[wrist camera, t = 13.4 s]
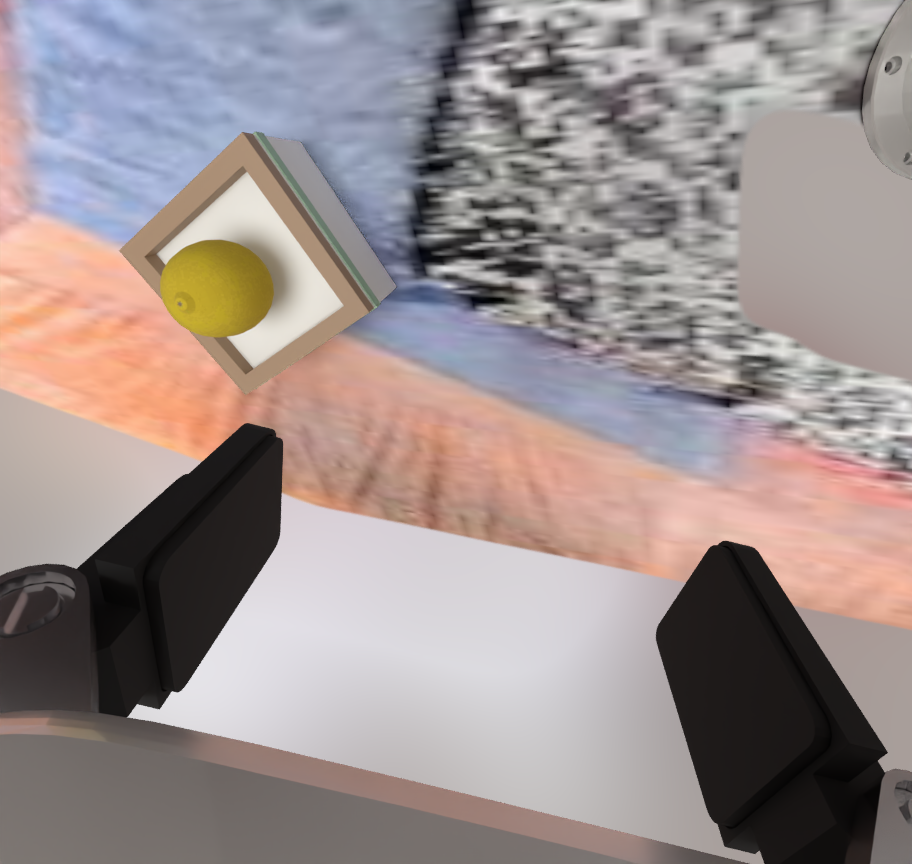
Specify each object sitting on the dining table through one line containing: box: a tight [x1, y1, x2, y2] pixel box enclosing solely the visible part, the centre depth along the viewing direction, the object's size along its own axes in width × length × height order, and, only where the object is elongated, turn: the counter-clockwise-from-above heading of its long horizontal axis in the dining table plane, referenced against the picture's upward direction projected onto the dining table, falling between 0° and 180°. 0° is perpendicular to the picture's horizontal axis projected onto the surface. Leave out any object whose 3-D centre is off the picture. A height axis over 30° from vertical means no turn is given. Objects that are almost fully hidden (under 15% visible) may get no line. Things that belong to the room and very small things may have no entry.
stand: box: [119, 132, 397, 395], centre depth 34 cm, size 12×12×8 cm
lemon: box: [160, 240, 274, 338], centre depth 28 cm, size 6×6×8 cm
